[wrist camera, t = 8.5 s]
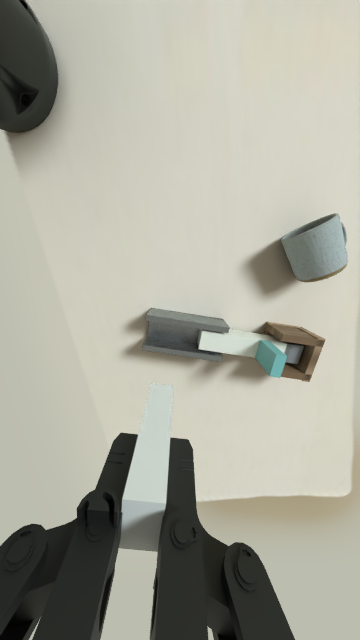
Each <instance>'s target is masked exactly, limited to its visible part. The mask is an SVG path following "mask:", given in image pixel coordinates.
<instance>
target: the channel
mask: <svg viewBox="0 0 360 640" xmlns="http://www.w3.org/2000/svg"><path fill="white" fill-rule="evenodd" d="M146 321H149V328H148V336H147V338H146V340H145V342H144V344H143V349H142V350H144V351H151V352H158V353H165V354H171V355H178V356H185V357H191V358H198V359H205V360H211V361H218V362H222V358H223V356H222V354H221V353H220V352H214V351H207V350H200V349H198V343H197V340H198V335H199V330H200V329H204V330H210V331H217V332H223V333H229V328H230V327H229V326H228V325H227V324H226V322H225V321H224V320H223V319H219V318H213V317H206V316H200V315H193V314H187V313H181V312H174V311H168V310H161V309H155V308H151V309H150V311H149V312H148V313H147V315H146Z"/></svg>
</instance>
